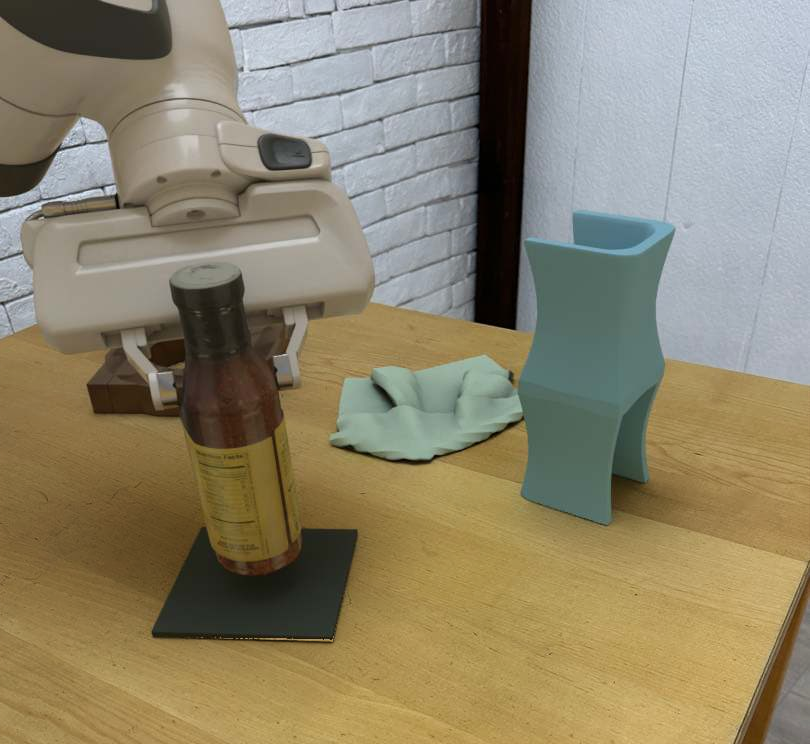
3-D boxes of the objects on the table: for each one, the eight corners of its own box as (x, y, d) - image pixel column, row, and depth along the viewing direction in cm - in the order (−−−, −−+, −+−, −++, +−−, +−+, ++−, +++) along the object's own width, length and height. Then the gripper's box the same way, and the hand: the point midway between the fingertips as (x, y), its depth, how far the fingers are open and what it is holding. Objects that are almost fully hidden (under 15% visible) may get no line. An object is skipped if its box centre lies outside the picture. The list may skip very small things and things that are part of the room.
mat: (152, 637, 59) (150, 631, 59) (202, 531, 69) (201, 526, 69) (332, 642, 58) (332, 636, 58) (358, 534, 68) (357, 528, 67)
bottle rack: (85, 415, 85) (77, 386, 84) (144, 342, 99) (138, 315, 97) (262, 416, 84) (258, 387, 82) (297, 341, 97) (294, 314, 96)
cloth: (306, 459, 77) (303, 434, 76) (357, 352, 94) (356, 331, 93) (549, 470, 74) (550, 444, 72) (555, 357, 91) (557, 335, 90)
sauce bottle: (257, 518, 66) (213, 244, 54) (323, 545, 63) (291, 261, 51) (191, 564, 62) (127, 277, 50) (258, 596, 58) (206, 298, 47)
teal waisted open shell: (561, 452, 76) (577, 208, 64) (649, 478, 72) (684, 223, 61) (514, 496, 71) (522, 239, 59) (607, 526, 67) (635, 258, 55)
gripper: (0, 177, 51) (36, 406, 49) (351, 139, 55) (398, 352, 53) (29, 233, 58) (62, 439, 56) (343, 196, 61) (385, 388, 59)
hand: (229, 396), depth 54 cm, fingers closed on sauce bottle, 6 cm apart
